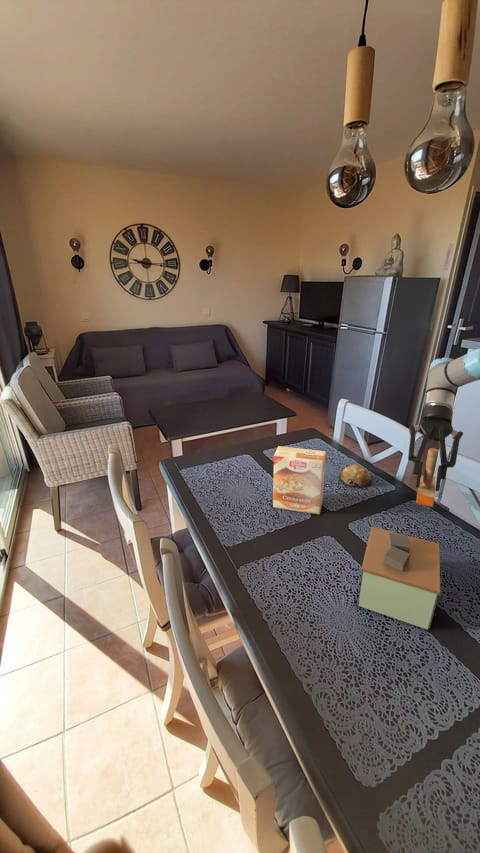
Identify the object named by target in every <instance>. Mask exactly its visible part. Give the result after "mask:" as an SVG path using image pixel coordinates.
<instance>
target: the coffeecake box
mask: <svg viewBox="0 0 480 853" xmlns="http://www.w3.org/2000/svg"><path fill="white" fill-rule="evenodd" d="M326 457H327V451H326V450H317V449H309V448H301V447H290V446H281V445H278V446H277V448H276V450H275V452H274V454H273V486H272V488H273V489H272V490H273V493H272V494H273V495H272V497H273V498H272V499H273V500H272V507H273V508H276V509H281V510H286V511H287V510H288V511H295V512H301V513H307V514H315V515H320V514H321V510H322V505H323V496H324V484H325V470H326V459H327V458H326Z"/></svg>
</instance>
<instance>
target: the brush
mask: <svg viewBox="0 0 480 853" xmlns="http://www.w3.org/2000/svg"><path fill="white" fill-rule="evenodd" d="M439 453H440V451H439V449H437V448H435V447H430V448H428V450H427V455H426V460H425V467H424V470H423V474H421V479H420V486H419V488H417V487H416V502H415V503H416V505H421V506H426V507H431V508H433V507H434V503H435V498H436V491H435V488H436V477H435V471H436V467H437V462H438V457H439Z"/></svg>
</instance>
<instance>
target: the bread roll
mask: <svg viewBox="0 0 480 853" xmlns="http://www.w3.org/2000/svg"><path fill="white" fill-rule="evenodd" d="M340 479H341V481H343V482H344V484H346V485H348V486H351V487H359V488H360V487H361V488H362V487H363V488H364V487H367V486H369V485H370V483H371V473H370V471H369V470H368V469H367V468H366V467H365V466H363V465H361V464H359V463H354V464H350V465H348V466H346V467H344V469H343V470H342V471H341V474H340Z"/></svg>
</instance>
